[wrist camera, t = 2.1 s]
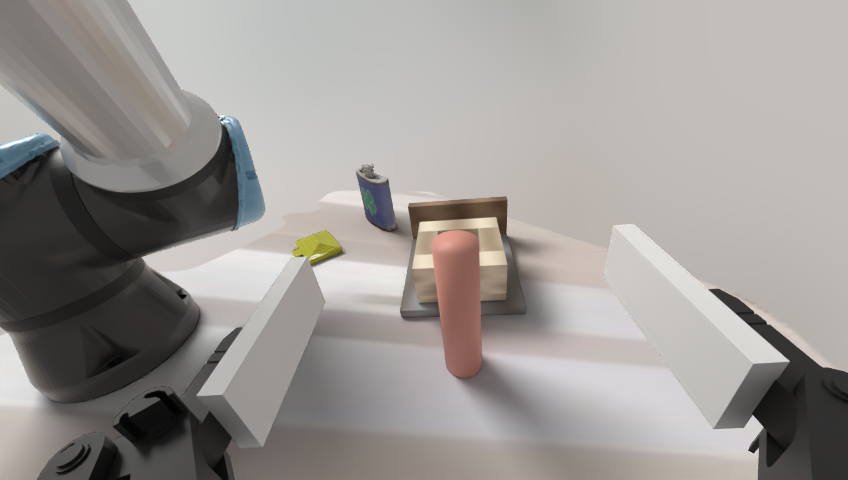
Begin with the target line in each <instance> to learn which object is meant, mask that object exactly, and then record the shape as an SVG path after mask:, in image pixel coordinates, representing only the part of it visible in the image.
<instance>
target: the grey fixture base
mask: <svg viewBox="0 0 848 480" xmlns="http://www.w3.org/2000/svg"><path fill="white" fill-rule="evenodd" d="M408 209H409V215H410V221H411V228H412V234H413V243H412V249H411V254H410V259H409V265H408V270H407V276H406V281H405V287H404V292H403V297H402V303H401V308H400V313H401V317H419V316H440V312H439V304H438V302H426V303H418V301H417V295H416V289H415V283H414V277H413V272H412V266H413V260H414V254H415V248H416V242H417V236H418V230H419V224H420V222H428V221H444V220H459V219H475V218H491V217H496V219H497V223H498V227H499V231H500V235H501V240H502V244H503V248H504V252H505V256H506V261H507V291H506V300H489V301H481V315H495V314H526V304H525V301H524V297H523V293H522V290H521V286H520V282H519V279H518V275H517V271H516V267H515V264H514V260H513V256H512V253H511V249H510V245H509V242H508V238H507V234H506V229H507V198H506V197H491V198H477V199H463V200H449V201H435V202H421V203H409V206H408Z"/></svg>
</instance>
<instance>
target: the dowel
mask: <svg viewBox="0 0 848 480" xmlns="http://www.w3.org/2000/svg"><path fill="white" fill-rule="evenodd" d="M431 247H432V255H433V263H434V271H435V279H436V288H437V296H438V304H439V312H440V320H441V328H442V336H443V344H444V352H445V360H446V366H447V369H448V370H449V372H450V373H452V374H453V375H454V376H457V377H460V378H469V377H472V376H474V375H476V374H477V373H478V372H479V371H480V369H481V366H482V343H481V301H480V258H479V239H478V238H477V236H476V235H474V234H473V233H470V232H467V231H463V230H452V231H447V232H443V233H441V234H439V235H437V236H436V237H435V238H434V239H433V240H432V243H431Z"/></svg>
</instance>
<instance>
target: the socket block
mask: <svg viewBox="0 0 848 480" xmlns="http://www.w3.org/2000/svg"><path fill="white" fill-rule="evenodd" d="M452 230H463V231H467V232H470V233H473V234H474V235H476V236H477V238H478V239H479V258H480V301H489V300H506V291H507V261H506V256H505V252H504V248H503V244H502V240H501V235H500V231H499V227H498V223H497V219H496V217H491V218H475V219H459V220H444V221H428V222H420V224H419V230H418V236H417V242H416V248H415V254H414V260H413V266H412V272H413V277H414V283H415V289H416V295H417V301H418V303H426V302H438V296H437V288H436V279H435V271H434V263H433V255H432V247H431V243H432V240H433V239H434V238H435V237H436V236H437V235H439V234H441V233H443V232H447V231H452Z"/></svg>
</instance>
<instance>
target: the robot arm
mask: <svg viewBox="0 0 848 480" xmlns="http://www.w3.org/2000/svg"><path fill="white" fill-rule="evenodd" d="M0 84H1V85H2V86H3V87H4V88H5V89H7V90H8V91H9V92H10V93H11V94H13V95H14V96H15V97H16V98H17V99H18V100H20V101H21V102H22V103H23V104H24V105H26V106H27V107H28V108H29V109H30V110H32V111H33V112H34V113H35V114H36V115H37V116H39V117H40V118H41V119H42V120H43V121H45V122H46V123H47V124H48V125H50V126H51V127H52V128H53V129H54V130H55V131H56V132H58V133H59V134H60V135H61V140H60V143H59V142H58V141H57V140H54V139H53V138H52V137H50V136H49V135H47V134H45V133H37V134H36V135H30V136H25V137H22V138H18V139H15V140H11V141H8V142H5V143H1V144H0V327H1V328H2V329H4V330H5V331H6V332H7V333H8V334H9V335H10V336H11V338H12V340H13V343H14V345H15V347H16V350H17V352H18V354H19V357H20V359H21V362H22V364H23V366H24V369H25V371H26V373H27V376H28V378H29V380H30V382H31V384H32V385H33V386H34V387H35V388H36V389H37V390H39V391H40V392H41V393H43V394H44V395H45V396H47V397H48V398H49V399H51V400H53V401H56V402H61V403H72V402H80V401H85V400H89V399H92V398H96V397H99V396H102V395H104V394H107V393H110V392H112V391H114V390H117V389H119V388H121V387H123V386H125V385H127V384H129V383H131V382H133V381H134V380H136V379H138V378H140V377H141V376H143V375H144V374H146V373H148V372H149V371H151V370H152V369H154V368H155V367H156V366H158V365H159V364H160V363H162V362H163V361H164V360H166V359H167V358H168V357H169V356H170V355H172V354H173V353H174V352H175V351H176V350H177V349H178V348H179V347H180V346H181V345H182V344H183V343H184V342H185V341H186V339H187V338H188V337H189V336H190V334H191V333H192V331H193V330H194V328H195V326H196V324H197V322H198V319H199V314H200V311H199V307H198V305H197V304H196V302H195V301H194V299H193V298H192V297H191V295H190V294H189V293H188V292H187V291H186V290H184V289H183V288H181V287H180V286H178V285H177V284H175V283H174V282H172V281H170V280H169V279H167V278H166V277H164V276H163V275H161V274H160V273H158V272H156V271H155V270H153V269H152V268H150V267H149V266H148V265H147V264H146V263H145V262H144V260H143V259H142V258H141V257H143V256H146V255H149V254H152V253H156V252H159V251H162V250H166V249H169V248H172V247H176V246H179V245H182V244H185V243H189V242H192V241H196V240H200V239H203V238H207V237H210V236H213V235H217V234H221V233H224V232H228V231H235V230H237V229H238V228H239V227H242V226H244V225H247V224H250V223H253V222H256V221H258V220H259V219H260V218H262V216H263V215H264V212H265V203H264V198H263V195H262V191H261V187H260V184H259V180H258V177H257V175H256V173H255V168H254V164H253V161H252V157H251V154H250V151H249V148H248V145H247V142H246V139H245V136H244V134H243V131H242V128H241V125H240V123H239V121H238V120H237V119H236V118H234V117H231V116H228V117H226V116H223V115H221V116H217V114H216V113H215V111H214V110H213V109H212V108H211V106H210V105H209V104H208V103H206V102H205V101H204V100H203V99H201V98H200V97H198V96H196V95H194V94H192V93H190V92H187V91H184V90H181V89H180V87H179V86H178V84H177V82H176V81H175V79H174V77H173V76H172V74H171V73H170V71H169V69H168V67H167V66H166V64H165V62H164V61H163V59H162V57H161V56H160V54H159V52H158V51H157V49H156V47H155V46H154V44H153V42H152V41H151V39H150V37H149V36H148V34H147V33H146V31H145V29H144V28H143V26H142V24H141V23H140V21H139V19H138V18H137V16H136V14H135V13H134V11H133V10H132V8H131V6H130V4H129V3H128V1H127V0H0ZM603 279H604V281H605V282H606V284H607V285H608V286H609V288H610V289H611V290H612V292H613V293H614V294H615V296H616V297H617V299H618V300H619V301H620V303H621V304H622V305H623V307H624V308H625V309H626V311H627V312H628V313H629V315H630V316H631V318H632V319H633V320H634V322H635V323H636V324H637V326H638V327H639V328H640V330H641V331H642V333H643V334H644V335H645V337H646V338H647V339H648V341H649V342H650V343H651V345H652V346H653V348H654V349H655V350H656V352H657V353H658V354H659V356H660V357H661V358H662V360H663V361H664V362H665V364H666V365H667V367H668V368H669V369H670V371H671V372H672V373H673V375H674V376H675V377H676V379H677V380H678V382H679V383H680V384H681V386H682V387H683V388H684V390H685V391H686V392H687V394H688V395H689V396H690V398H691V399H692V401H693V402H694V403H695V405H696V406H697V407H698V409H699V410H700V411H701V413H702V414H703V416H704V417H705V418H706V420H707V421H708V422H709V424H710V425H711V426H712V428H713V429H725V428H744V426H745V425H746V424H747V422H748V421H749V419H750V418H751V416H752V415H754V417H755V418H756V419H757V420H758V421H759V422H760V423H761V425H762V426H763V427H764V428H763V429H762V431H761V432H760V433H759V434H758V436H757V437H756V438H755V440H754V441H753V442H752V444H751V445H750V448H749V450H748V451H750V452H752V453H755V451H756V450H757V449H758V447H759V463H758V480H848V373H847V372H844V371H840V370H836V369H832V368H823V367H821V366H820V365H818V364H817V363H816V362H815V361H813V360H812V359H811V358H810V357H809V356H807V355H806V354H805V353H804V352H803V351H801V350H800V349H799V348H798V347H796V346H795V345H794V344H793V343H792V342H790V341H789V340H788V339H787V338H785V337H784V336H783V335H782V334H781V333H779V332H778V331H777V330H776V329H774V328H773V327H772V326H771V325H767V323H766V321H765V320H764V319H762V318H761V317H760V316H759V315H757V314H754V311H753V310H751V309H750V308H749V307H748V306H746V305H745V304H744V303H743V302H742V301H740V300H739V299H738V298H736V297H734V296H732V295H730V294H728V293H726V292H724V291H722V290H720V289H709V290H708V289H707V288H706V287H704V286H703V285H702V284H701V283H700V282H699V281H698V280H696V279H695V278H694V277H693V276H692V275H691V274H690V273H688V272H687V271H686V270H685V269H684V268H683V267H682V266H681V265H679V264H678V263H677V262H676V261H675V260H673V259H672V258H671V257H670V256H669V255H668V254H667V253H666V252H665V251H663V250H662V249H661V248H660V247H659V246H658V245H657V244H655V243H654V242H653V241H652V240H651V239H650V238H649V237H647V236H646V235H645V234H644V233H643V232H642V231H641V230H639V229H638V228H637V227H636V226H635V225H634V224H626V225H616V226H613V230H612V235H611V241H610V245H609V250H608V255H607V260H606V265H605V271H604V276H603ZM324 304H325V300H324V297H323V295H322V292H321V290H320V287H319V285H318V282H317V279H316V277H315V274H314V272H313V269H312V267H311V264H310V261H309V259H308V256H304V257H294V258H291V259H290V260H289V262H288V263H287V265H286V266H285V268H284V269H283V270H282V272H281V273H280V275H279V276H278V278H277V279H276V281H275V282H274V284H273V285H272V286H271V288H270V289H269V291H268V292H267V294H266V295H265V297H264V298H263V300H262V301H261V302H260V304H259V305H258V307H257V308H256V310H255V311H254V313H253V314H252V316H251V317H250V318H249V320H248V321H247V323H246V324H245V326H244V327H240V328H236V329H235V330H233V331H232V332H231V333H230V334H229V335H228V336H226V337H225V338H224V339H223V340H222V342H221V343H220V345H219V346H218V347H217V349H216V350H215V353H214V354H212V356H211V357H210V358H209V360H208V361H207V364H205V365H204V367H203V368H202V369H201V371H200V372H199V373H198V375H197V376H196V378H195V379H194V380H193V382H192V383H191V384H190V386H189V387H188V388H187V390H186V391H185V393H184V394H183V395H182V397H181V398H179V397H178V396H177V395H176V394H175V393H174V391H173V390H172V389H171V388H169V387H166V386H161V387H155V388H153V389H150V390H148V391H146V392H144V393H142V394H141V395H139V396H137V397H136V398H134V399H133V400H132V401H131V402H130V403H128V404H127V405H126V406H125V407H124V408H123V409H122V410H121V412H120V413H119V414H118V416H117V417H116V418H115V421H114V424H113V427H114V428H115V429H116V430H117V431H118V432H119V433H121V434H122V435H123V436H121V437H119V438H116V439H113V440H110V439H109V438H108V437H106V436H105V435H104V434H103V433H100V432H93V433H89V434H86V435H83V436H81V437H79V438H77V439H76V440H74V441H72V442H71V443H69V444H68V445H66V446H65V447H64V448H62V449H61V450H60V451H59V452H58V453H57V454H56V455H55V456H54V457H53V458H52V459H50V460H49V462H48V463H47V464H46V466H45V467H44V469H43V470H42V471H41V473H40V475H39V477H38V479H37V480H235V478H234V474H233V469H232V465H231V460H230V456H229V454H228V453H227V451H226V448H227V446H228V444H229V443H230V441H231V439H232V440H233V441H234V442H235V443H236V444H237V446H238V447H239V448H261V447H263V446H264V443H265V441H266V439H267V436H268V434H269V432H270V429H271V427H272V425H273V423H274V420H275V418H276V416H277V413H278V411H279V409H280V406H281V404H282V402H283V399H284V397H285V395H286V392H287V390H288V388H289V385H290V383H291V381H292V378H293V376H294V374H295V372H296V369H297V367H298V365H299V362H300V360H301V358H302V355H303V353H304V351H305V348H306V346H307V344H308V341H309V339H310V337H311V334H312V332H313V330H314V327H315V325H316V323H317V321H318V318H319V316H320V314H321V311H322V309H323V307H324Z"/></svg>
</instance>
